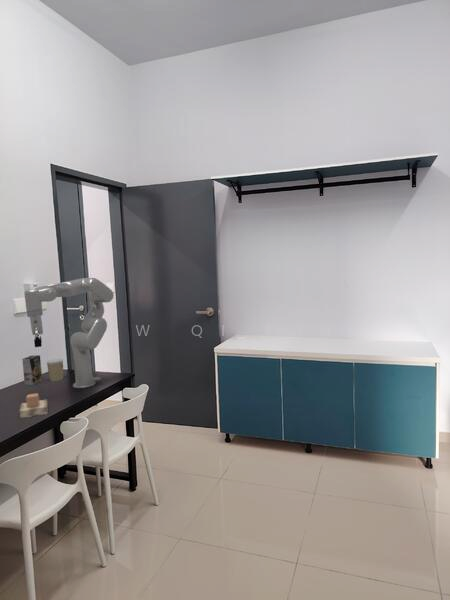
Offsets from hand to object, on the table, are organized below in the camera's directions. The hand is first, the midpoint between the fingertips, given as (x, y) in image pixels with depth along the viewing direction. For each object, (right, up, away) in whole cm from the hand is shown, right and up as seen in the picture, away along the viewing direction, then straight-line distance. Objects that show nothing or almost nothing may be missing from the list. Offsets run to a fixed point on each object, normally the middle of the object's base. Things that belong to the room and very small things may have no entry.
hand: (38, 344), depth 224 cm
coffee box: (-18, -27, +36) cm, 48 cm away
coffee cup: (-6, -26, +40) cm, 48 cm away
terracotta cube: (+4, -28, -15) cm, 32 cm away
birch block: (+4, -32, -14) cm, 35 cm away
